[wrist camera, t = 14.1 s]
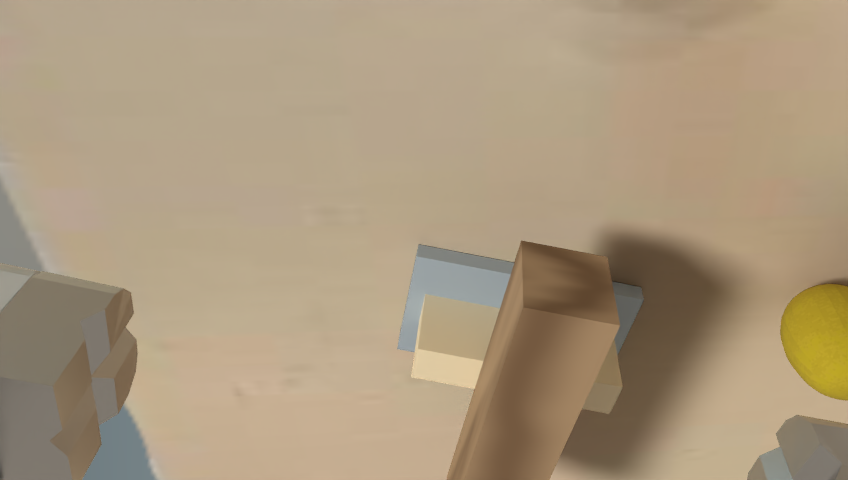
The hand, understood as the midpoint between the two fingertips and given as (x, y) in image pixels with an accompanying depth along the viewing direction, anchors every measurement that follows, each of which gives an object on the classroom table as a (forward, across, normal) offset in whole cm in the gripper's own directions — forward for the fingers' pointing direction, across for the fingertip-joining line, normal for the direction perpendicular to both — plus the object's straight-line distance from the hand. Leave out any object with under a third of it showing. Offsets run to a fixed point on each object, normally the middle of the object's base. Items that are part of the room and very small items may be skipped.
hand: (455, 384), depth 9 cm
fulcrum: (+29, -7, +24) cm, 38 cm away
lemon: (+29, -24, +18) cm, 42 cm away
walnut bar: (+23, -7, +24) cm, 34 cm away
